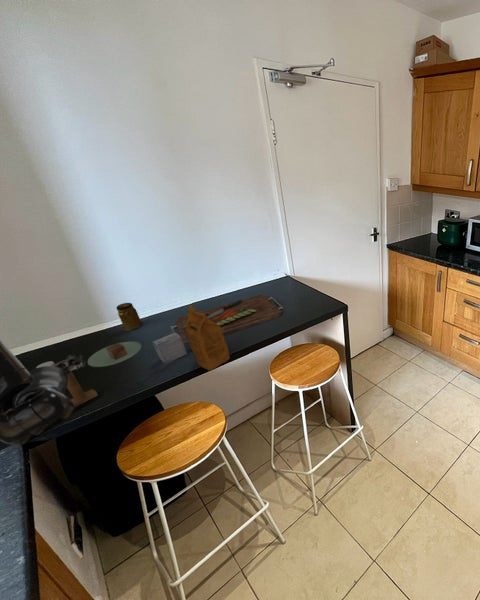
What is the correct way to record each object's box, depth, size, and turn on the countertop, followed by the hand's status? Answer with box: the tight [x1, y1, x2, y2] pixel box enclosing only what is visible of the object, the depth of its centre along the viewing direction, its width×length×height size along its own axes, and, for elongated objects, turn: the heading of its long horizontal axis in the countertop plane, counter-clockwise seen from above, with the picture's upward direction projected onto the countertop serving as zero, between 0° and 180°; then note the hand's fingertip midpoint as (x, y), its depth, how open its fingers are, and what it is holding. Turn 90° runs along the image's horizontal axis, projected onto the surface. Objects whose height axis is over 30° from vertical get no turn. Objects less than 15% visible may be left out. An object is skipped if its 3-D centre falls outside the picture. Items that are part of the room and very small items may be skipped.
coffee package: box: [187, 305, 231, 371], centre depth 113 cm, size 10×12×22 cm
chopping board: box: [169, 294, 285, 345], centre depth 145 cm, size 45×27×3 cm, turn 130°
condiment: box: [116, 302, 144, 332], centre depth 135 cm, size 7×8×12 cm
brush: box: [66, 371, 101, 414], centre depth 95 cm, size 7×3×14 cm, turn 151°
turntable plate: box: [87, 341, 142, 368], centre depth 120 cm, size 16×16×1 cm
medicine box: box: [151, 332, 188, 365], centre depth 117 cm, size 8×4×9 cm, turn 145°
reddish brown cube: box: [105, 342, 127, 360], centre depth 118 cm, size 4×4×4 cm
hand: (49, 365), depth 85 cm, fingers open, 8 cm apart
